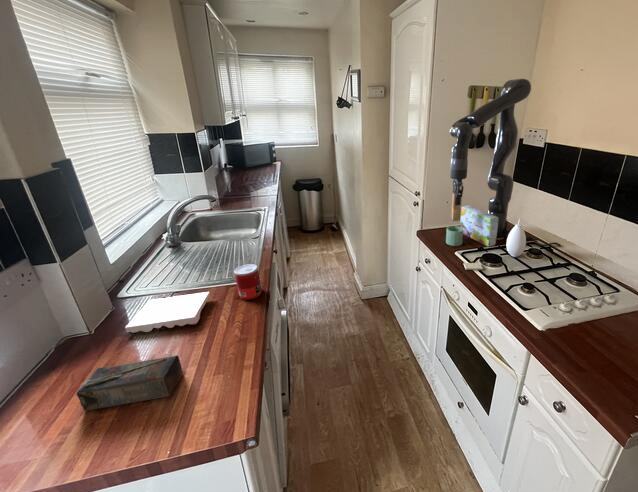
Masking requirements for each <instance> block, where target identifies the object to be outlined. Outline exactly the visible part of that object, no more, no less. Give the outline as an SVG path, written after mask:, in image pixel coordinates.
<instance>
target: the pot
mask: <svg viewBox="0 0 638 492" xmlns="http://www.w3.org/2000/svg"><path fill="white" fill-rule="evenodd" d="M445 230H446V233H445V243H446V244H447V245H448V246H451V247H459V246H461V245H463V243H464V242H463V241H464V234H463V231H464V229H463V228H462V227H460V225H449V226H447V227H446V228H445Z"/></svg>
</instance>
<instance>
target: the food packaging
mask: <svg viewBox="0 0 638 492" xmlns="http://www.w3.org/2000/svg"><path fill="white" fill-rule="evenodd" d="M210 297H211V293H210V291H204V292H203V291H202V292H196V293H190V294H181V295H175V296H168V297H160V298H154V299H149V300H148V301H147V302H146V303H145V304H144V306H143V307H142V308H141V309H140V310H139V311H138V312H137V313H136V314H135V316H134V317H133V318H132V319H131V320H130V321H129V323H128V324H126V325H125V331H126V333H127V334H128V333H133V334H134V333H138V332H145V333H149V332H151V331H152V330H153V329H154V328H155V329H160V328H161V327H167V328H169V329H170V328H174V327H175V326H179V327H184V326H185V325H197V323H198V322H199V320H200V319H201V313H202V310H203V308H204V307H205V305H206V303H207V302H208V300H209V298H210Z"/></svg>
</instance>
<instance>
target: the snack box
mask: <svg viewBox="0 0 638 492" xmlns="http://www.w3.org/2000/svg"><path fill="white" fill-rule="evenodd" d="M459 223H460V224H459V227H462V228H463V229H464V231H463V235H464V236H466V237H468V238H470V239H472V240H474V241H476V242H478V243H480V244H482V245H483V246H485V247H488V248H489V247H493V246H496V244H497V240H496V236H497V227H498V217H496V216H494V215H491V214H489V213H488V212H486V211H484V210H481V209H478V208H476V207H474V206H471V205H463V206H461V216H460V221H459Z"/></svg>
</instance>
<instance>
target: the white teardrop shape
mask: <svg viewBox="0 0 638 492" xmlns="http://www.w3.org/2000/svg"><path fill="white" fill-rule="evenodd" d="M520 221H521V219H520V218H519V219H518V223H516V224H515V225H514V226H513V227H512V228H511V229H510V230H511V231H510V233H509V235H507V237H506V250H507V253H508V254H509V255H510V257H513V258H517V257H518V258H519V256H521V255H523V253H524V251H525V249H526V245H527V239H526V238H527V236H526V232H525V230H524V228H523V225H522V224H521V223H520Z"/></svg>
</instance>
